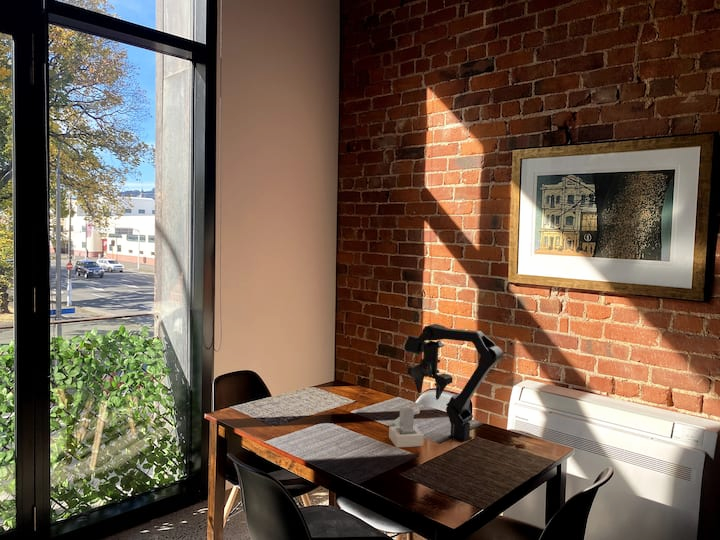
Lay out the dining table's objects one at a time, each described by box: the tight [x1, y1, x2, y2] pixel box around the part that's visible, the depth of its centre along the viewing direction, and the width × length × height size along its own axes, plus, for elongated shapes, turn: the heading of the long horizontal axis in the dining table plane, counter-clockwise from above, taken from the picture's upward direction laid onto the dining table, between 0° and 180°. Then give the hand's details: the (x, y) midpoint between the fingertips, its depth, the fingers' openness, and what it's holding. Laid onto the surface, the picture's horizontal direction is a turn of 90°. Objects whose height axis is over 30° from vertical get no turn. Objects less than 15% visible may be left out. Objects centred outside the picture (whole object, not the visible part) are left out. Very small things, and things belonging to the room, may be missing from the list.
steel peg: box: [398, 407, 415, 435], centre depth 213 cm, size 4×4×12 cm
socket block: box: [388, 424, 425, 448], centre depth 214 cm, size 10×10×4 cm
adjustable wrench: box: [389, 406, 421, 427], centre depth 239 cm, size 25×6×2 cm, turn 149°
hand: (428, 396), depth 226 cm, fingers open, 9 cm apart
